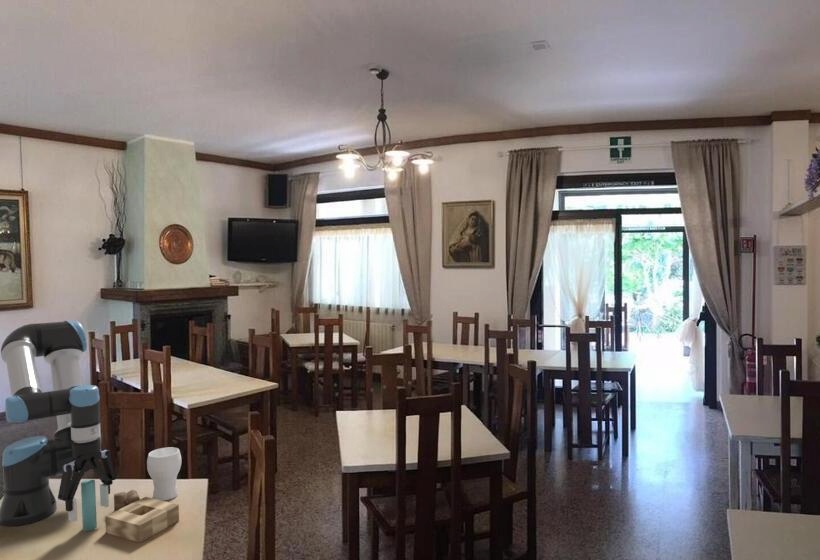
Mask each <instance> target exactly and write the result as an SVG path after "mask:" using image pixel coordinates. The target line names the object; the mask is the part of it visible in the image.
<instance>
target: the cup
mask: <svg viewBox="0 0 820 560" xmlns="http://www.w3.org/2000/svg"><path fill="white" fill-rule="evenodd" d="M181 468H182V455H181V451H180V449H179V448H178V447H173V446H171V447H169V446H168V447H161V448H157V449H156V448H155V449H154V450H152V451H150V452H149V453H148V454H147V459H146V469H147V472H148V475H149V476H150V479H152V481H153V484H152V485H153V493H152V498H153V499H157V500H161V501H165V502H166V501H169V500H172V499H174V498H176V497H177V496H178V495H179V493H178V487H177V478H178V474H179V472H180V470H181Z"/></svg>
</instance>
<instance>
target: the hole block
mask: <svg viewBox="0 0 820 560" xmlns="http://www.w3.org/2000/svg"><path fill="white" fill-rule="evenodd" d="M179 508H180V507H179V504H177V503H173V502H168V501H166V500H165V501H161V500H157V499H153V497H148V496H145V497H142V498H140V500H138V501H136V502H134V503H132V504H130V505H128V504H127V506H125V507H123V508H121V509H119V510H117V511H113V512H111V513H108V514H107V515H105V518H104V519H105V520H104V521H105V533H106V534H109V535H112V536H116V537H119V538H123V539H126V540H129V541H134V542H135V543H143V541H145V540H148V539H149V538H151V537H153V536H154V535H156V534H158V533H159V532H161V531H163V530H166V529H167V528H169V527H171V526H173V525H174V524H176V523H177V522H179V521H180V512H179V510H180V509H179Z"/></svg>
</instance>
